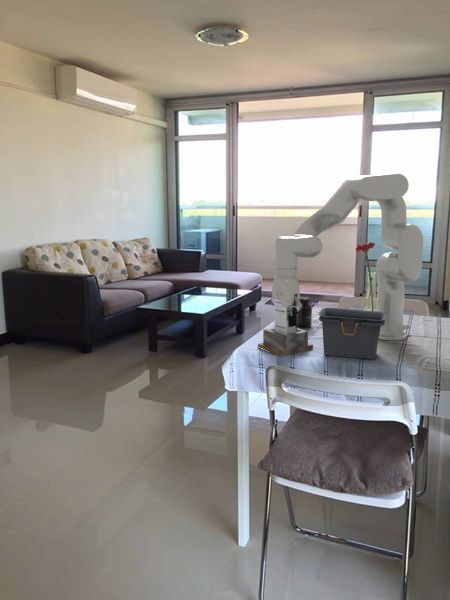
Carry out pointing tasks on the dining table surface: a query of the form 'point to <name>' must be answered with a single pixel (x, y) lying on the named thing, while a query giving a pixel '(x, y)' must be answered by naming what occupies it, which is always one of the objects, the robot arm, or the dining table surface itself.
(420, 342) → the dining table surface
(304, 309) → the supplement bottle
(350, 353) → the storage bin
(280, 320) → the syrup box
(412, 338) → the dining table surface
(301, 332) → the post base
